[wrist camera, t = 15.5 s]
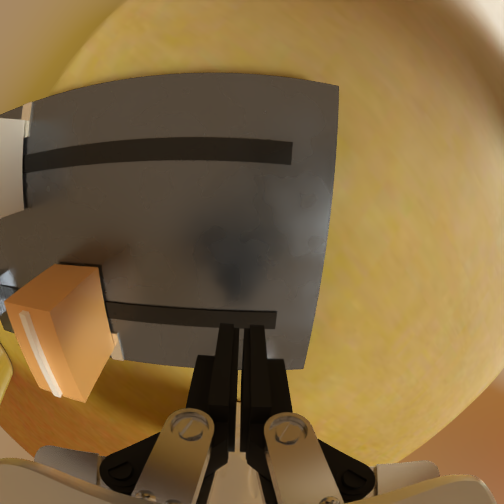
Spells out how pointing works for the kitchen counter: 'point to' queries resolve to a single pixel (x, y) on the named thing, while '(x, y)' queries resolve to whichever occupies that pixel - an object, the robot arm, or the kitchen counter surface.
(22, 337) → the block
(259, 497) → the white cup
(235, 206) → the console board
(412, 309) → the kitchen counter surface
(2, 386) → the plant pot
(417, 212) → the kitchen counter surface
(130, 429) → the kitchen counter surface
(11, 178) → the fader
